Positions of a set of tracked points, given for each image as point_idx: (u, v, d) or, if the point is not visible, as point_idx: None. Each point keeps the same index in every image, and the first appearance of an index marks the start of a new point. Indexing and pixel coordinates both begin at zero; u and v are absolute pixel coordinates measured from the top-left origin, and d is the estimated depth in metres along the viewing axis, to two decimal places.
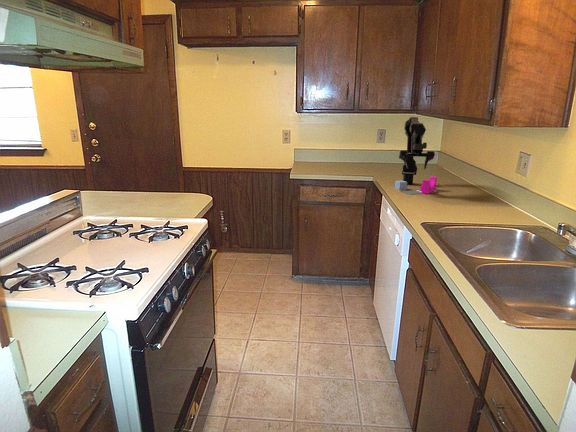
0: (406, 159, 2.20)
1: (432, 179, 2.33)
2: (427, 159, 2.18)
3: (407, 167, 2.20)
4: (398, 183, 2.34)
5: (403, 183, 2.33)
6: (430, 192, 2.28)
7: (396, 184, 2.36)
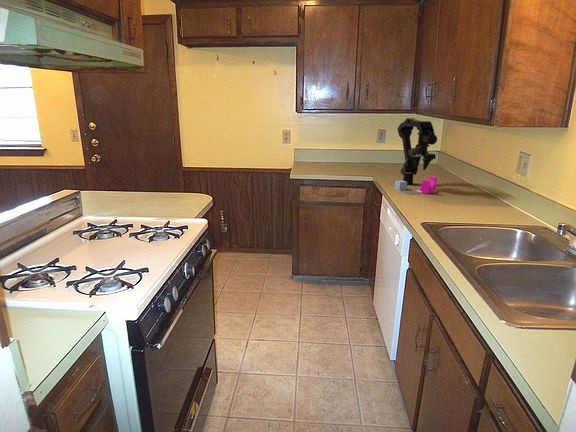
0: (414, 159, 2.39)
1: (432, 179, 2.33)
2: (423, 161, 2.30)
3: (415, 167, 2.40)
4: (398, 183, 2.34)
5: (403, 183, 2.33)
6: (430, 192, 2.28)
7: (396, 184, 2.36)
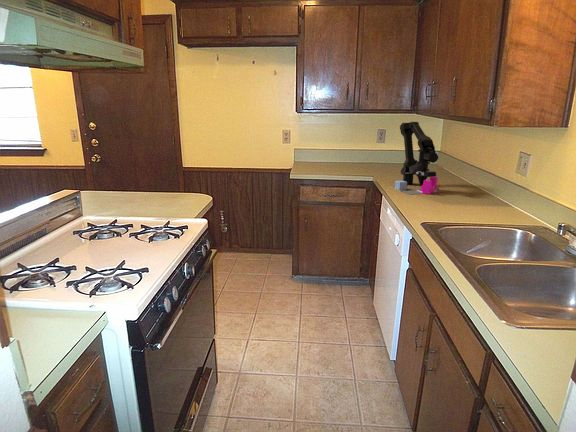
0: (418, 177, 2.36)
1: (433, 179, 2.33)
2: (420, 177, 2.34)
3: None
4: (398, 183, 2.34)
5: (403, 183, 2.33)
6: None
7: (396, 184, 2.36)
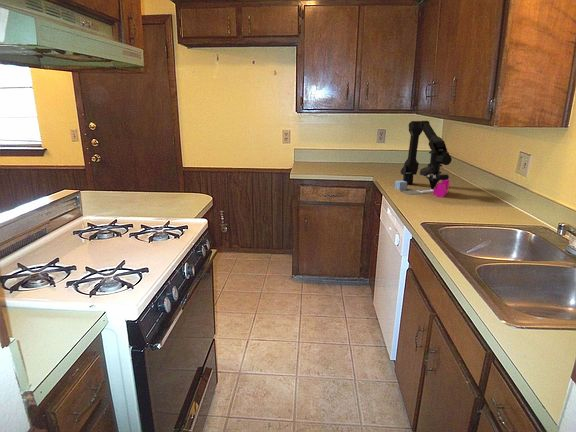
0: (429, 180, 2.27)
1: (445, 181, 2.26)
2: (432, 181, 2.24)
3: None
4: (398, 183, 2.34)
5: (403, 183, 2.33)
6: (430, 192, 2.28)
7: (396, 184, 2.36)
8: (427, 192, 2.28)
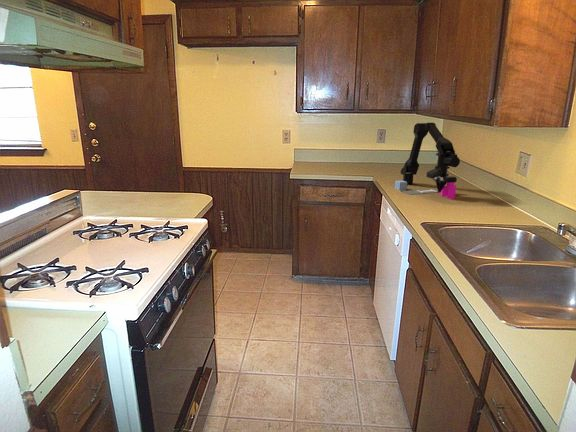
0: (436, 183, 2.21)
1: (451, 183, 2.24)
2: (439, 183, 2.19)
3: None
4: (398, 183, 2.34)
5: (403, 183, 2.33)
6: (430, 192, 2.28)
7: (396, 184, 2.36)
8: (427, 192, 2.28)
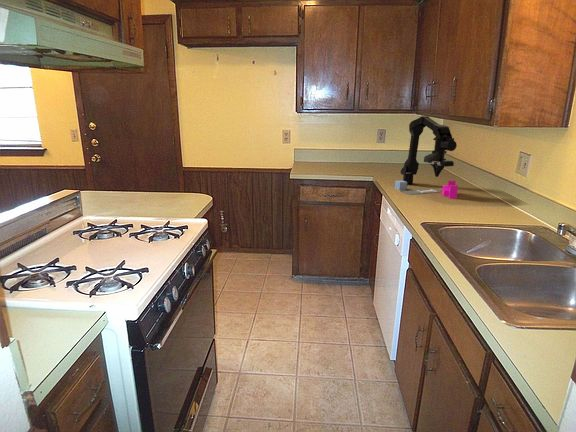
0: (434, 167, 2.22)
1: (452, 183, 2.24)
2: (436, 168, 2.20)
3: (435, 175, 2.23)
4: (398, 183, 2.34)
5: (403, 183, 2.33)
6: (430, 192, 2.28)
7: (396, 184, 2.36)
8: (427, 192, 2.28)
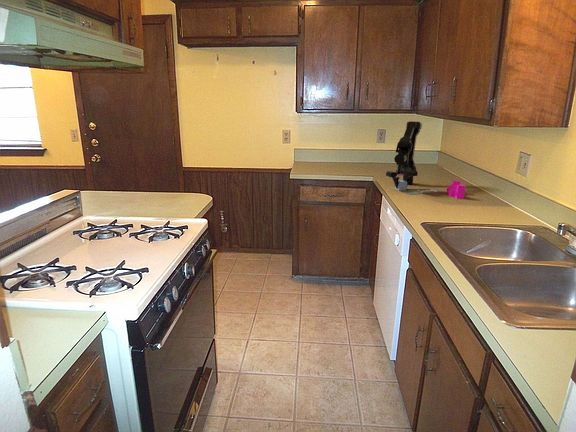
0: (397, 180, 2.33)
1: (457, 183, 2.25)
2: (408, 179, 2.35)
3: (397, 187, 2.35)
4: (398, 183, 2.34)
5: (403, 183, 2.33)
6: (430, 192, 2.28)
7: None
8: (427, 192, 2.28)
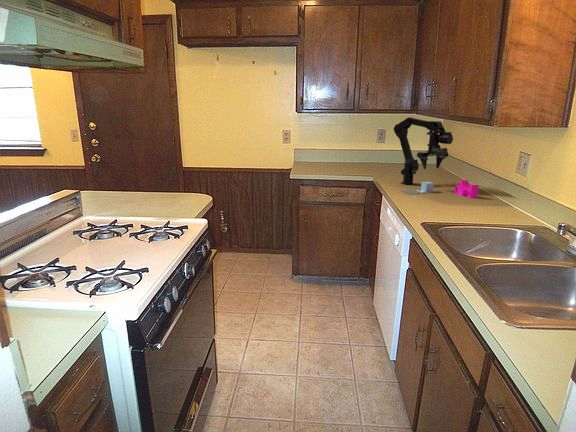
0: (425, 161, 2.33)
1: (465, 182, 2.27)
2: (441, 160, 2.36)
3: (425, 168, 2.35)
4: (424, 184, 2.29)
5: (430, 184, 2.29)
6: (430, 192, 2.28)
7: (422, 185, 2.31)
8: (427, 192, 2.28)
